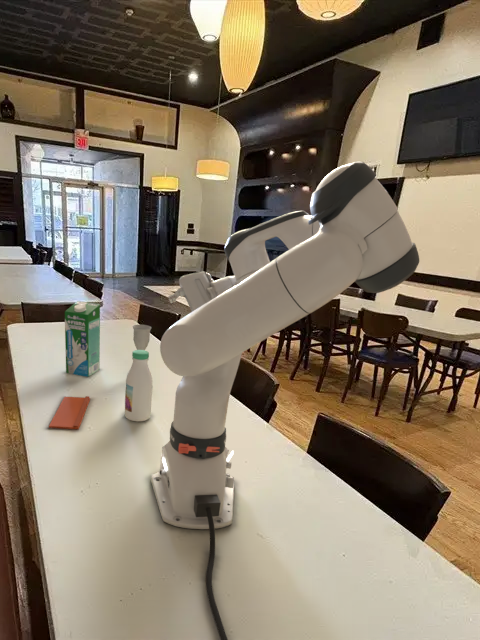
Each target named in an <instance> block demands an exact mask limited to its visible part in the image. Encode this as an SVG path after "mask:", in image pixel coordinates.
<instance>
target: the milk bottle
mask: <svg viewBox="0 0 480 640" xmlns="http://www.w3.org/2000/svg"><path fill="white" fill-rule="evenodd" d="M149 357H150V353H149V351H147V350H146V349H145V350H137V349H134V350H133V351H132V353H131V358H132V363H131V366H130V368H129V370H128V372H127V374H126V378H125V379H126V380H125V393H124V396H125V397H124V416H125V418H126V419H127V420H129V421H132V422H144V421H148V420H149V419H150V418H151V416H152V405H153V404H152V401H153V383H154V381H153V375H152V372H151V370H150V367H149Z"/></svg>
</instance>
